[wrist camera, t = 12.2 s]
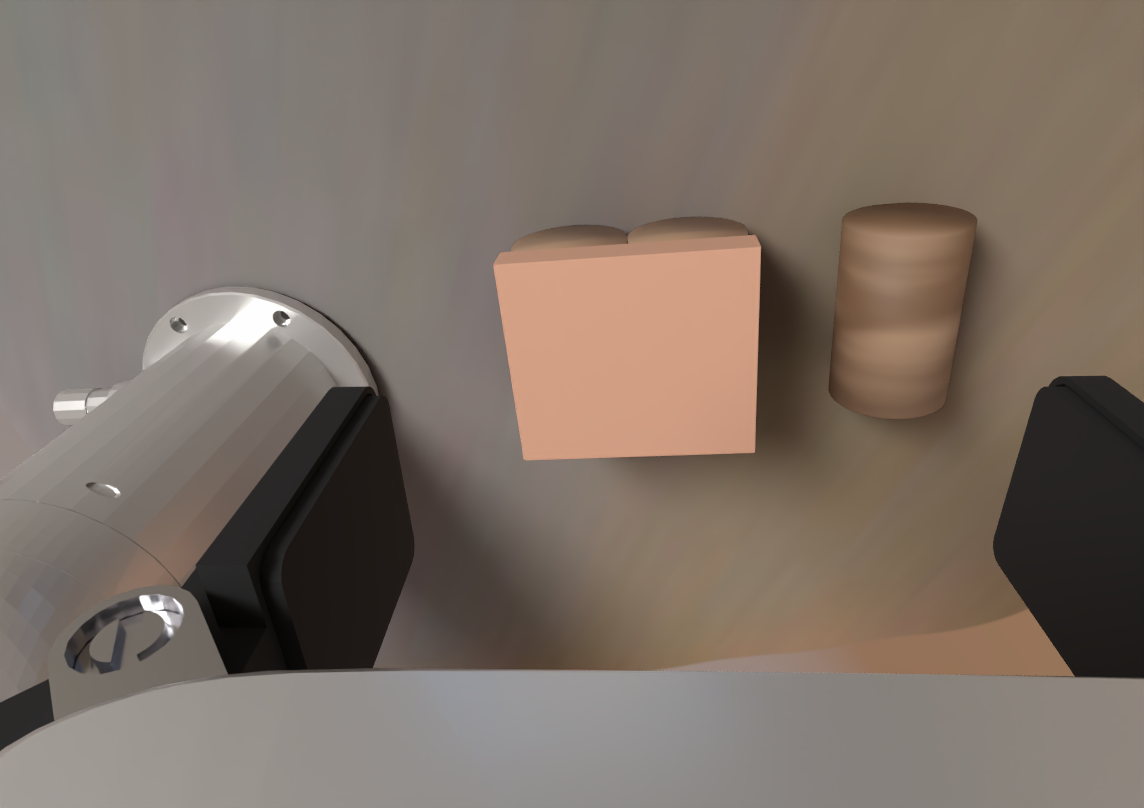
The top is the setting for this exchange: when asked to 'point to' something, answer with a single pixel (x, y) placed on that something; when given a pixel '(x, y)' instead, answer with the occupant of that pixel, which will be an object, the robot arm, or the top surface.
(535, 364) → the slab
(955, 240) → the roller
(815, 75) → the top surface
